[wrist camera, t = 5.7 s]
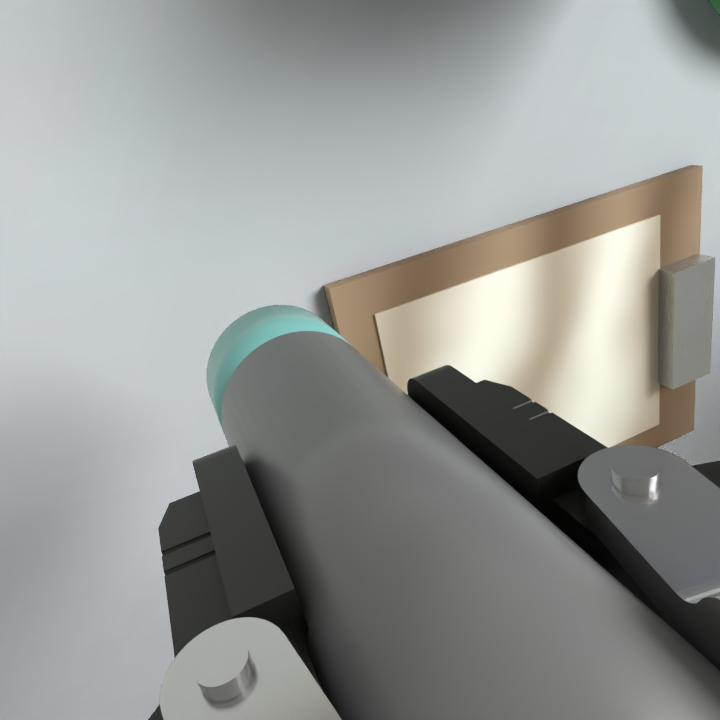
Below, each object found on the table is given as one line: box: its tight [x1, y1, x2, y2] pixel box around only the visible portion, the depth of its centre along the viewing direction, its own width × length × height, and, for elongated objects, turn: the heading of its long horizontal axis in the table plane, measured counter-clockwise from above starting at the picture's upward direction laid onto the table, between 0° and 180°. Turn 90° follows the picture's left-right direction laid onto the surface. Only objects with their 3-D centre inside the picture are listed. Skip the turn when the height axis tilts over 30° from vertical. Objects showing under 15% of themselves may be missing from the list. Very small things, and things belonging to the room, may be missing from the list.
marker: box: [207, 305, 720, 720], centre depth 8 cm, size 3×3×13 cm
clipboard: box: [324, 165, 715, 448], centre depth 27 cm, size 18×14×2 cm
